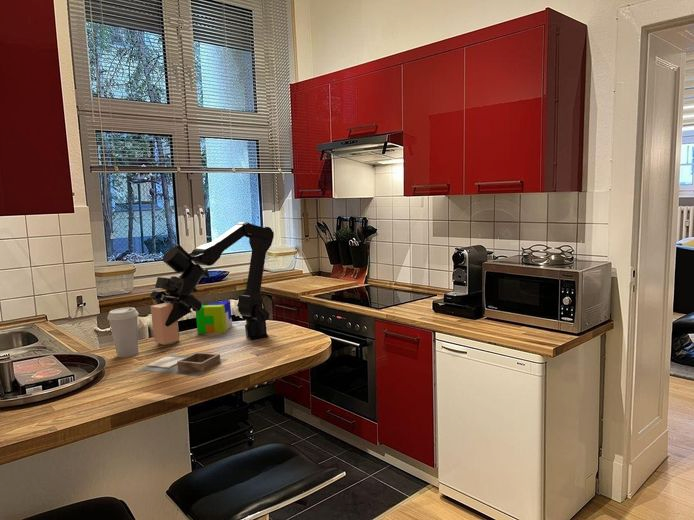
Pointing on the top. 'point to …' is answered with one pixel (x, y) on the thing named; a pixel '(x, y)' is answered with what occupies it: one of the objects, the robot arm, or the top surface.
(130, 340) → the coffee cup
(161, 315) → the terracotta block
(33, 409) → the top surface
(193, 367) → the puzzle board
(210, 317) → the puzzle toy
